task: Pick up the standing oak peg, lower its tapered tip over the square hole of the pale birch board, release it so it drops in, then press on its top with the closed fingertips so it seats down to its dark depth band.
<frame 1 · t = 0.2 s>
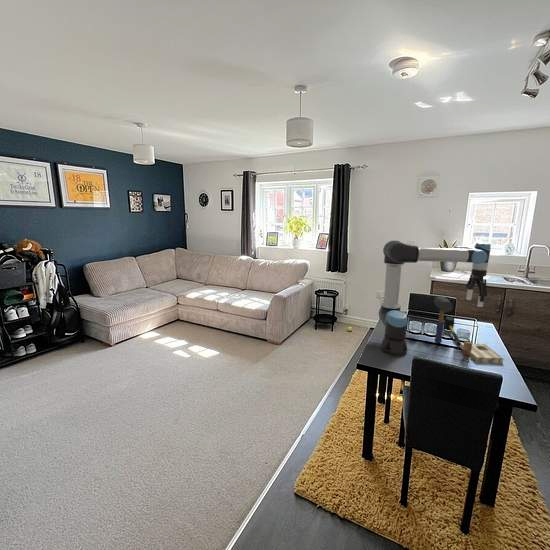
hand: (474, 302, 183), 28 cm above the table, fingers open, 13 cm apart
board: (480, 354, 175), on the table
rubber mallet: (437, 343, 191), on the table
peg: (465, 359, 171), on the table
mallet: (452, 337, 200), on the table
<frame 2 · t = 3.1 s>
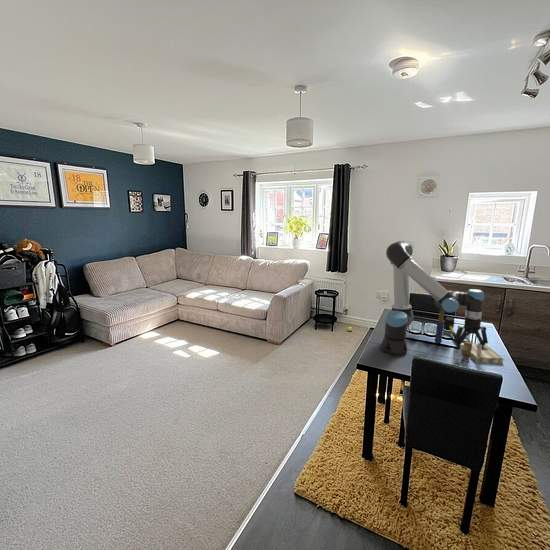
hand: (468, 354, 170), 3 cm above the table, fingers open, 10 cm apart
nothing on the table moved.
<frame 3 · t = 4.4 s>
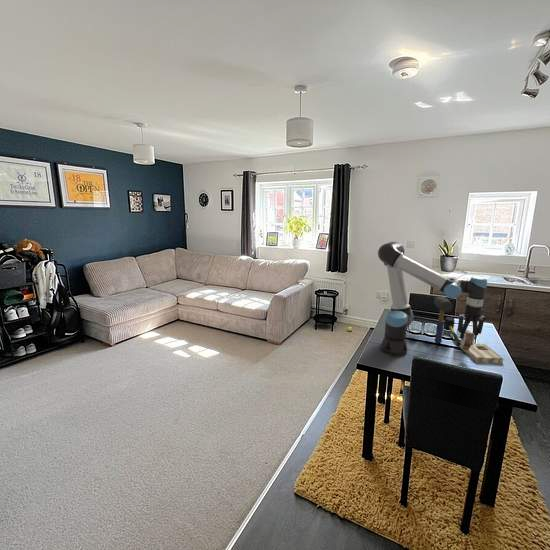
hand: (466, 344, 169), 9 cm above the table, fingers closed on peg, 4 cm apart
peg: (465, 349, 170), point 6 cm above the table, touching gripper
everything else where it was.
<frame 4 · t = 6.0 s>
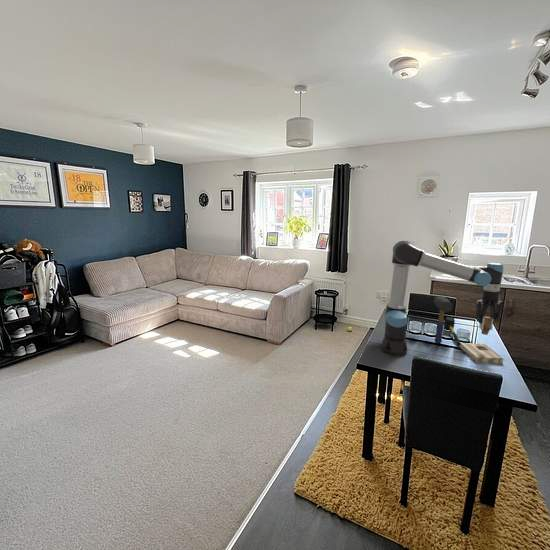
hand: (485, 328, 175), 15 cm above the table, fingers closed on peg, 4 cm apart
peg: (484, 333, 175), point 12 cm above the table, touching gripper
everything else where it was.
when the fingers open (4 cm above the table, at t = 7.5 s): peg stays where it is, resting in board.
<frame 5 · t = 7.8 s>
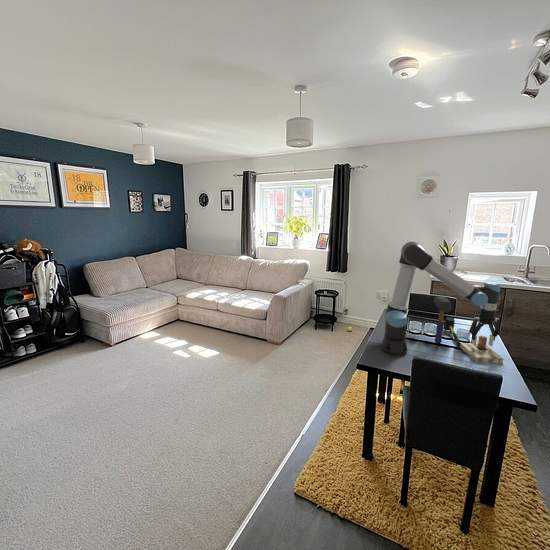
hand: (482, 345, 177), 5 cm above the table, fingers open, 8 cm apart
peg: (480, 352, 178), resting in board
everything else where it was.
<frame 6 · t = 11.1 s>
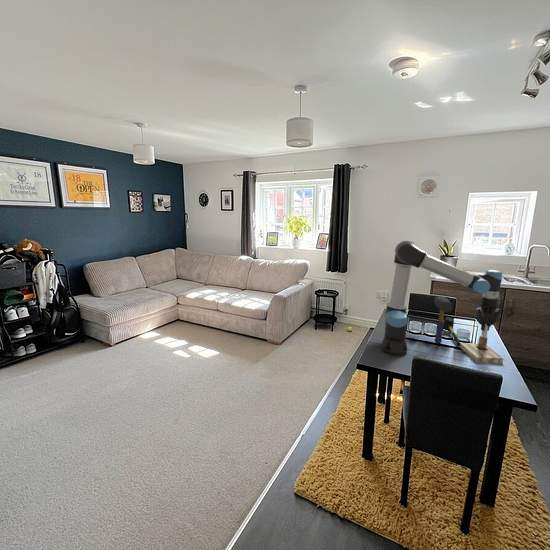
hand: (483, 335, 176), 11 cm above the table, fingers closed
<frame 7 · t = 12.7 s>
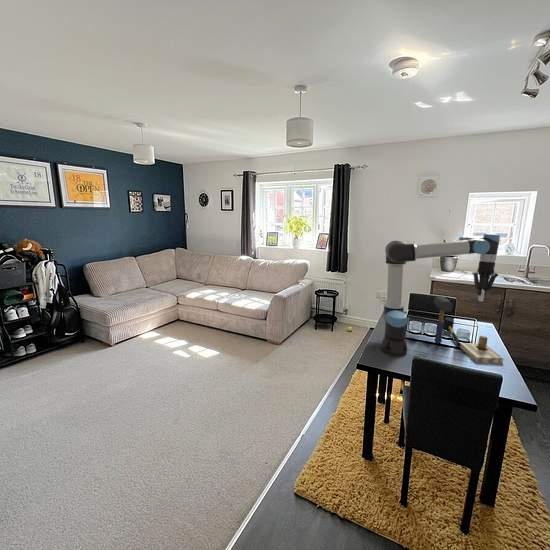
hand: (480, 300, 175), 31 cm above the table, fingers closed
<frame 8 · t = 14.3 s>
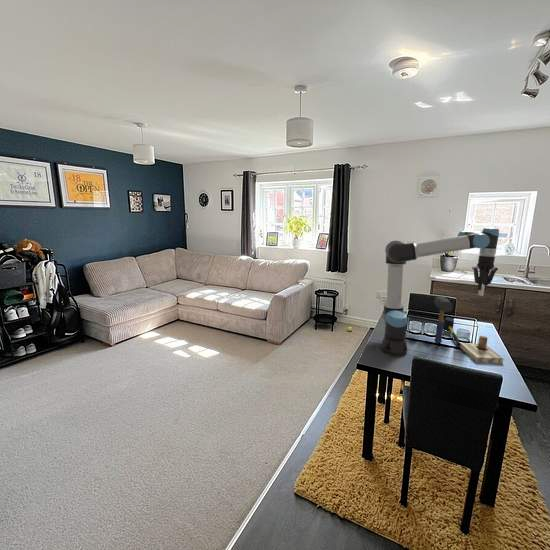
hand: (480, 295, 175), 34 cm above the table, fingers closed
at the end: peg 0.0 cm from the target spot on the board, point 0.0 cm above the board's base; peg tilted 0°; the gripper is holding nothing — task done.
